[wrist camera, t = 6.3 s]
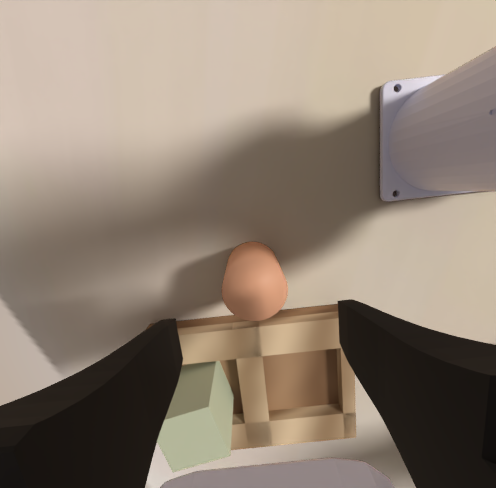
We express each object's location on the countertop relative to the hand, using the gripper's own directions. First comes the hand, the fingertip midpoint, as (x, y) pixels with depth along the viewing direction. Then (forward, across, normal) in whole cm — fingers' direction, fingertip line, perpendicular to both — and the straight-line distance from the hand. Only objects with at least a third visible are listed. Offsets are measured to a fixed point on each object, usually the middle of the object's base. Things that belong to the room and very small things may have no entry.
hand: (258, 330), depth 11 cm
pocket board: (+9, +1, +10) cm, 13 cm away
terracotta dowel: (+9, 0, 0) cm, 9 cm away
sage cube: (+8, +5, +9) cm, 13 cm away
